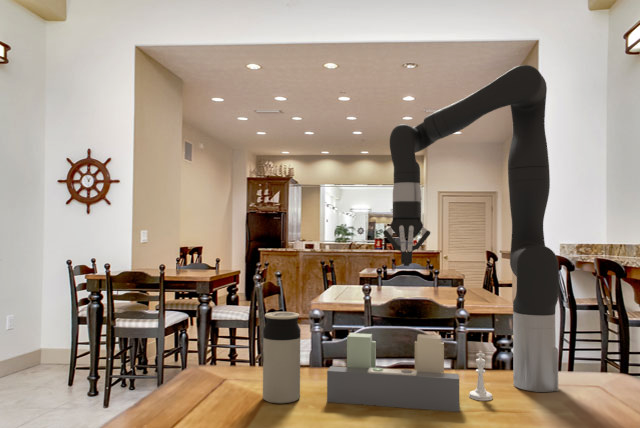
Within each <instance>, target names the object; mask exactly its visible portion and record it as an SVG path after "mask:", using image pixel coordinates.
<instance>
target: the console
mask: <svg viewBox="0 0 640 428" xmlns="http://www.w3.org/2000/svg"><path fill="white" fill-rule="evenodd" d="M326 374H327V375H326V402H327V403H337V404H349V405H361V404H363V406H374V405H376V407H377V406H379V407H389V408H390V407H392V408H401V409H402V408H405V409H414V410H415V409H416V410H428V411H429V410H430V411H443V412H444V411H445V412H454V413H455V412H458V413H460V376H459V373H451V372H450V373H449V372H447V373H446V372H444V373H435V372H419V371H416V370H415V369H414V370H412V369H405V368H404V369H400V368H398V369H395V368H382V367H376V368H353V367H347V366H334V365H331V366H329V368H328V369H327V370H326Z"/></svg>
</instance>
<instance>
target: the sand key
mask: <svg viewBox="0 0 640 428" xmlns="http://www.w3.org/2000/svg"><path fill="white" fill-rule="evenodd" d="M414 370H416V371H419V372H435V373H445V343H444V341H443V342H442V336H441V334H423V333H422V334H421V333H419V334H417V340H415V341H414Z"/></svg>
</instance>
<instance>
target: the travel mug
mask: <svg viewBox="0 0 640 428" xmlns="http://www.w3.org/2000/svg"><path fill="white" fill-rule="evenodd" d="M264 317H265V320H266V324H265V326H264V328H263V331H262V332H263V335H262V337H263V338H262V339H263V341H262V342H263V345H262V347H263V348H262V349H263V350H262V399H263V400H264V401H266V402H268V403H271V404H279V405H280V404H281V405H283V404H284V405H285V404H290V403H291V404H292V403H294V402H297V401H298V400H299V399H300V397H301V328H300V326H299V324H298V321H299V318H300V314H299V313H297V312H293V311H273V312H267V313H265V314H264Z"/></svg>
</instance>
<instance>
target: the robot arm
mask: <svg viewBox="0 0 640 428" xmlns="http://www.w3.org/2000/svg"><path fill="white" fill-rule="evenodd" d="M547 90H548V88H547V82H546V80H545V78H544V77H543V75H542V73H541V72H540V71H539V70H538V69H537V68H536V67H534V66H532V65H527V64H521V65H517V66H514V67H513V68H511V69H509V70H508V71H506V72H505V73H504V74H503V73H502V74H501V75H500V76H499V77H497V78H496V79H495V80H493V81H491V82H490V83H489V84H486V85H485V86H483V87H482V88H480V89H478V90H477V91H475V92H473V93H471V94H469V95H467V96H465V97H464V98H462V99H460V100H458V101H456V102H454V103H452V104H449V105H447V106H445V107H442V108H440V109H439V110H436V111H433V112H432V113H429V114H428V115H427V116H426V117H424V119H423V121H422V122H420V124H417V125H415V126H411V125H409V124H405V123H403V124H398V125H396V126H395V127H394V128H393V129H392V131H391V133H390V134H389V135H390V136H389V149H390V156H391V160H392V164H393V188H392V221H391V223H390V227H388V228H387V229H386V230H383V232H382V233H383V235H384V237H385V238H386V239H387V240H388V241H389V243H390V245H392V247H393V248H394V249H395V250H398V251H400V262H401V264H402V265H403V267H410V265H411V264H412V263H413V252H414V251H417V250H419V249H420V247H421V246H422V244H424V243H425V241H426V240H427V239H428V238H429V236H430V235H431V231H430V230H428V229H427V228H426V227H424V223H423V221H422V188H421V167H420V164H419V162H418V161H417V160H416V159H417V158H416V153H419V152H421V151H423V150H425V149H427V148H429V147H430V146H431V145H433V144H434V143H436V142H437V141H439V140H441V139H444V138H446V137H449V136H451V135H453V134H456V133H458V132H460V131H462V130H463V129H466V128H467V127H469V126H470V125H472V124H473V123H475V121H478V120H479V119H480V118H481V117H483V116H485V115H487V114H489V113H491V112H493V111H496V110H498V109H502V108H505V107H507V106H510V111H511V118H512V137H511V141H510V147H509V152H508V160H507V176H508V177H507V178H508V181H507V182H508V183H507V184H508V193H509V194H508V195H509V208H510V217H511V242H510V254H509V265H510V268H511V271H512V273H513V275H514V276H515V277H516V292H515V298H514V299H513V301H512V302H513V303H512V313H513V314H512V324H513V325H512V327H513V331H512V337H513V338H512V342H513V343H512V346H513V348H512V349H513V350H512V352H513V353H512V354H513V357H512V358H513V359H512V360H513V362H512V363H513V365H512V367H513V374H512V375H513V377H512V378H513V386H514V387H516V388H518V389H521V390H525V391H529V392H536V393H546V392H547V393H550V392H559V349H558V348H557V342H556V340H557V339H556V337H557V336H556V307H557V304H558V300H559V285H560V284H559V281H560V279H559V278H560V277H559V276H560V269H559V267H560V266H559V260H558V257H557V255H556V253H555V252H554V251H553V250H552V249H551V248H550V247H548V246H546V243H545V242H546V241H545V233H544V220H545V215H546V209H547V205H548V202H549V201H548V200H549V197H550V188H551V187H550V185H551V184H550V182H551V179H550V176H551V175H550V162H549V161H550V159H549V150H548V143H547V136H546V128H545V126H546V125H545V123H546V122H545V118H546V102H547ZM393 232H394V233H393ZM420 232H421V233H420ZM419 233H420V236H421V237H420V239H419V240H418V241H417V242H416V244H414V239H415V238H416V237H417V236H418V235H419ZM393 234H395V235H396V236H397V237H398V239H399V241H400V244H399V243H398V242H397V241H396V240H395V238H394V236H393ZM406 239H407V241H406ZM406 242H407V244H406Z"/></svg>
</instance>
